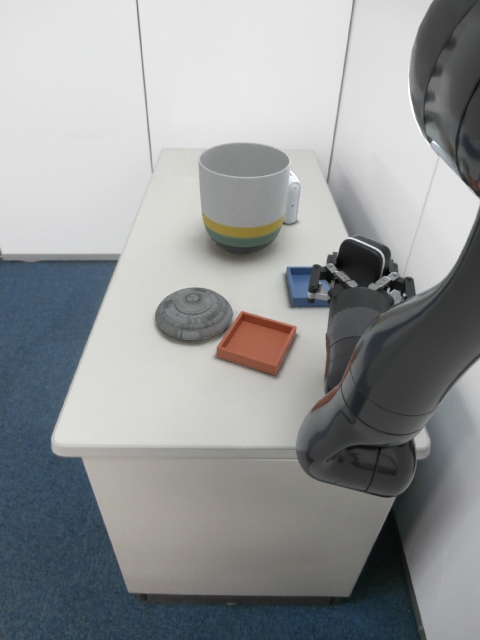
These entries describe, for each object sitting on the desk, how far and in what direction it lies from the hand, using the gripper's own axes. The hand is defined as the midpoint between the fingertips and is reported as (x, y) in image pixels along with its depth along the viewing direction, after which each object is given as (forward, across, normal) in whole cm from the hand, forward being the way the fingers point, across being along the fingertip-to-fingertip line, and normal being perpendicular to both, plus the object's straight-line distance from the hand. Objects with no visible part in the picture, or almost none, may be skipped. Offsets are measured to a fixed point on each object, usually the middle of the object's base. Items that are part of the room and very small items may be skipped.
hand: (361, 260), depth 66 cm
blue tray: (+21, +6, +21) cm, 30 cm away
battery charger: (-2, 0, +7) cm, 8 cm away
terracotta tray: (+1, +15, +22) cm, 26 cm away
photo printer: (+52, +18, +21) cm, 59 cm away
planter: (+34, +25, +21) cm, 48 cm away
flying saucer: (+5, +28, +22) cm, 36 cm away
